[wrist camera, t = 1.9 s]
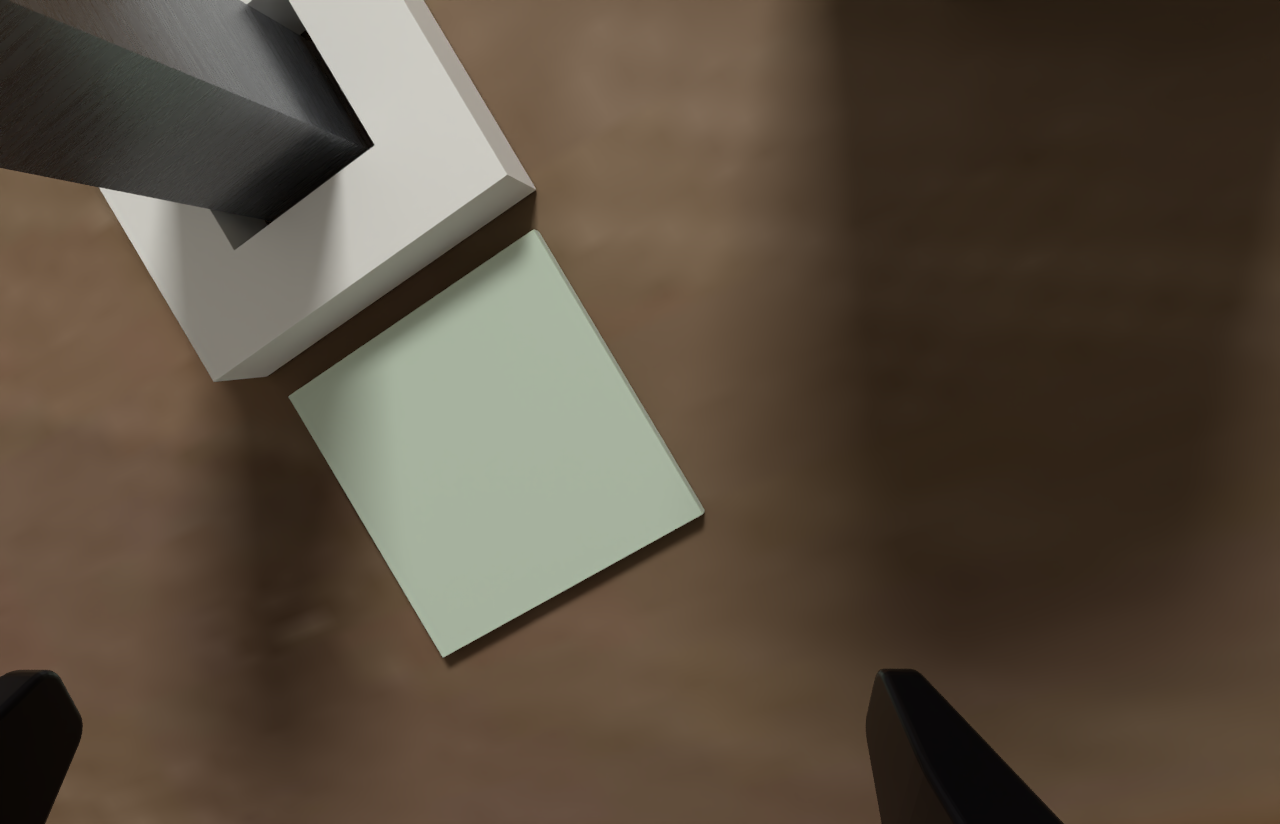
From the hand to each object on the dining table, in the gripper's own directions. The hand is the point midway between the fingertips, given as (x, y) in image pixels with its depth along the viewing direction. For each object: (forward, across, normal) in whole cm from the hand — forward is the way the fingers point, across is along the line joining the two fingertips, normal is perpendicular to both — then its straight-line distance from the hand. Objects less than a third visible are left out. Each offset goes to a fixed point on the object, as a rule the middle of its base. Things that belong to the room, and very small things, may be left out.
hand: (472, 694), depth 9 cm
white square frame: (+15, +7, -3) cm, 17 cm away
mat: (+11, +2, +4) cm, 12 cm away
